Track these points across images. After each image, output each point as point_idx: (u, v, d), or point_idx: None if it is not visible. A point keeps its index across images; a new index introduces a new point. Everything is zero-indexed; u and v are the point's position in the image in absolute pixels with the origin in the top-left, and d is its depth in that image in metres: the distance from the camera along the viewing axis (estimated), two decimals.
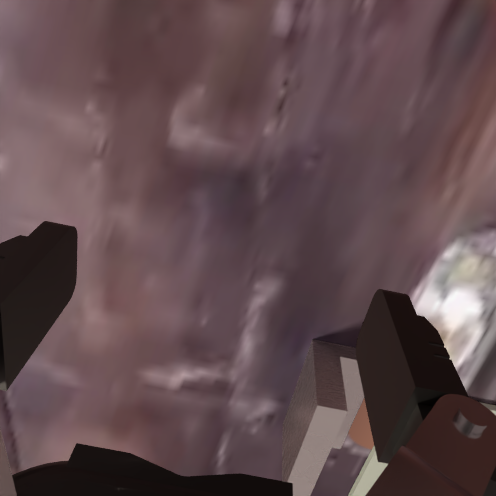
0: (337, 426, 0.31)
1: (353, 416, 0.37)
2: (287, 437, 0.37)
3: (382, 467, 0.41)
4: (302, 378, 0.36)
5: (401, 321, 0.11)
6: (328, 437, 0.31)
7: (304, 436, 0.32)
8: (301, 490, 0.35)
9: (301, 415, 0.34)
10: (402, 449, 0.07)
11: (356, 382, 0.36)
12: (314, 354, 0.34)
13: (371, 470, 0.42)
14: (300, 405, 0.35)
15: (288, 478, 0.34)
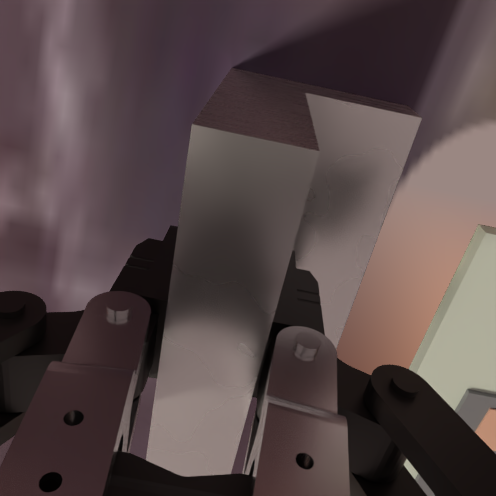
0: (283, 236, 0.08)
1: (347, 304, 0.14)
2: None
3: None
4: None
5: None
6: (253, 292, 0.09)
7: None
8: None
9: None
10: (270, 401, 0.07)
11: (356, 191, 0.13)
12: (227, 78, 0.11)
13: None
14: None
15: (147, 458, 0.11)
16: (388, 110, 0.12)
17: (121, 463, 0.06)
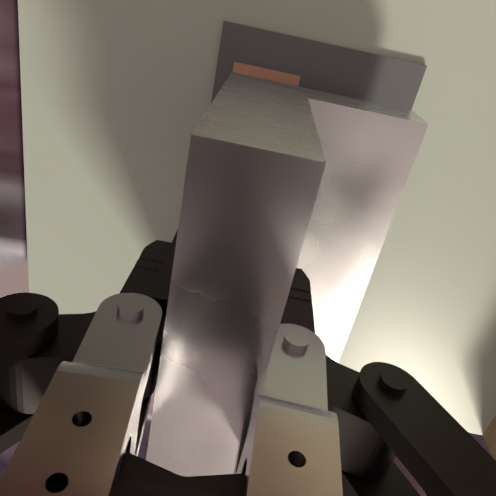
0: (286, 251, 0.08)
1: (351, 314, 0.14)
2: None
3: None
4: None
5: None
6: (256, 308, 0.08)
7: None
8: None
9: None
10: (261, 400, 0.07)
11: (360, 199, 0.12)
12: (227, 83, 0.11)
13: None
14: None
15: None
16: (393, 116, 0.11)
17: (121, 463, 0.06)
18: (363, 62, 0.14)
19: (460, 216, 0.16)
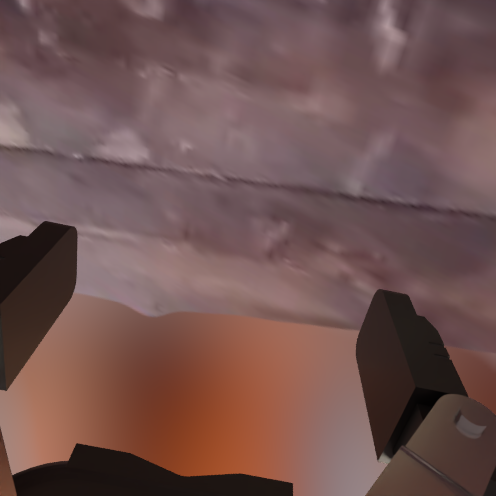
0: None
1: None
2: None
3: None
4: None
5: (401, 321, 0.11)
6: None
7: None
8: None
9: None
10: (402, 449, 0.07)
11: None
12: None
13: None
14: None
15: None
16: None
17: (121, 463, 0.06)
18: None
19: None
